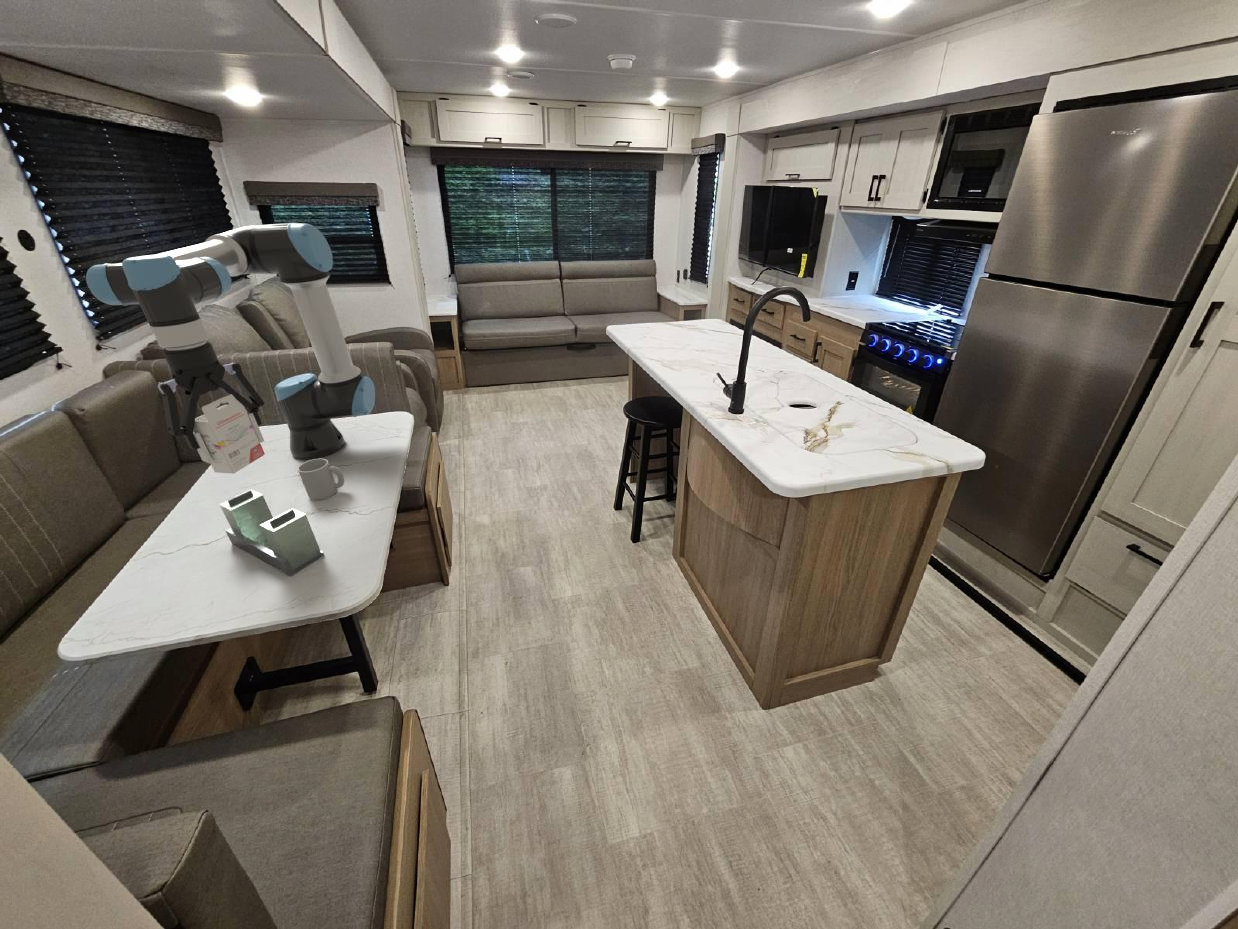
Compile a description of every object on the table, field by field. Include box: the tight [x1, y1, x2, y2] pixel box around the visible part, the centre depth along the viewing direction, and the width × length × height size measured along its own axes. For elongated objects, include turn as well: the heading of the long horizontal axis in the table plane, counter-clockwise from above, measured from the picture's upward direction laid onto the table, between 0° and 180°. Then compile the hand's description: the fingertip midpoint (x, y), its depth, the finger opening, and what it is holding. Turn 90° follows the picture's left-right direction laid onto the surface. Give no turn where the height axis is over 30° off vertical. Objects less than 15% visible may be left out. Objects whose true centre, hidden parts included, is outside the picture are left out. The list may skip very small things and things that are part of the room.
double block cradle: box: [219, 489, 325, 577], centre depth 118 cm, size 8×24×12 cm, turn 59°
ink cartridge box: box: [194, 394, 265, 475], centre depth 106 cm, size 9×5×15 cm, turn 168°
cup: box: [297, 458, 345, 501], centre depth 140 cm, size 7×10×9 cm
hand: (234, 450), depth 108 cm, fingers closed on ink cartridge box, 9 cm apart
